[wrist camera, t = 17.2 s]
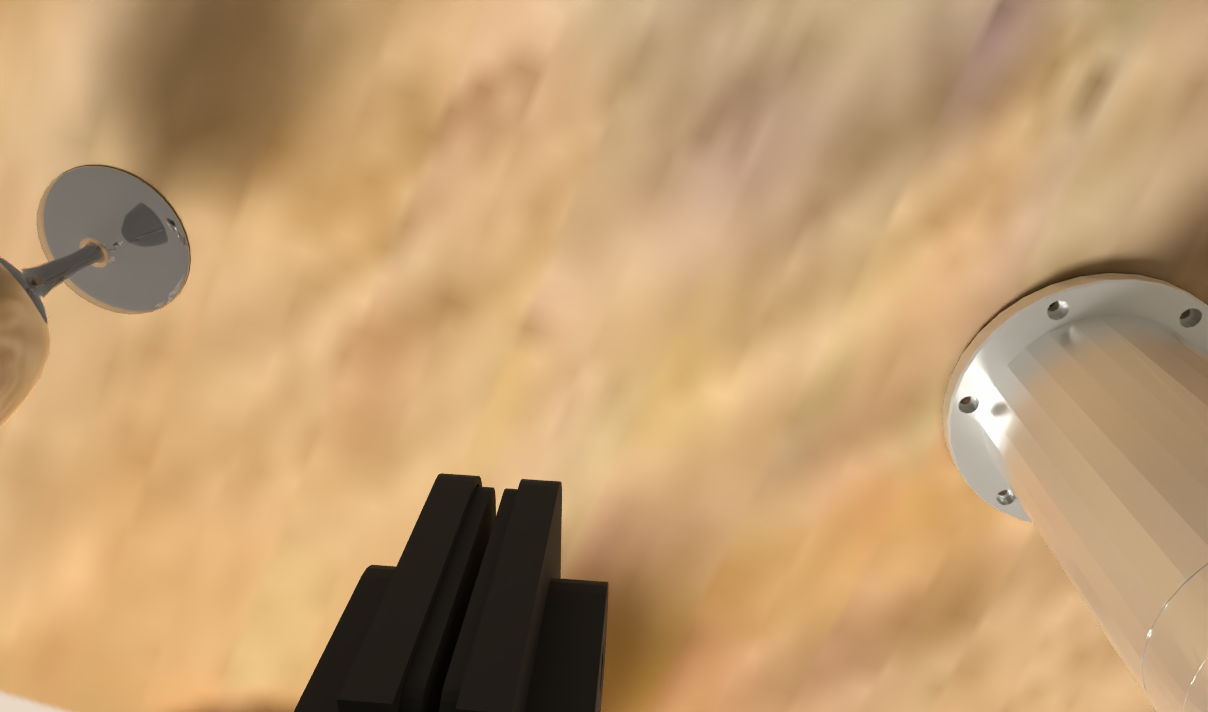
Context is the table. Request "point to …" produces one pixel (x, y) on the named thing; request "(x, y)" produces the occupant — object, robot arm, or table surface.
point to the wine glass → (88, 265)
